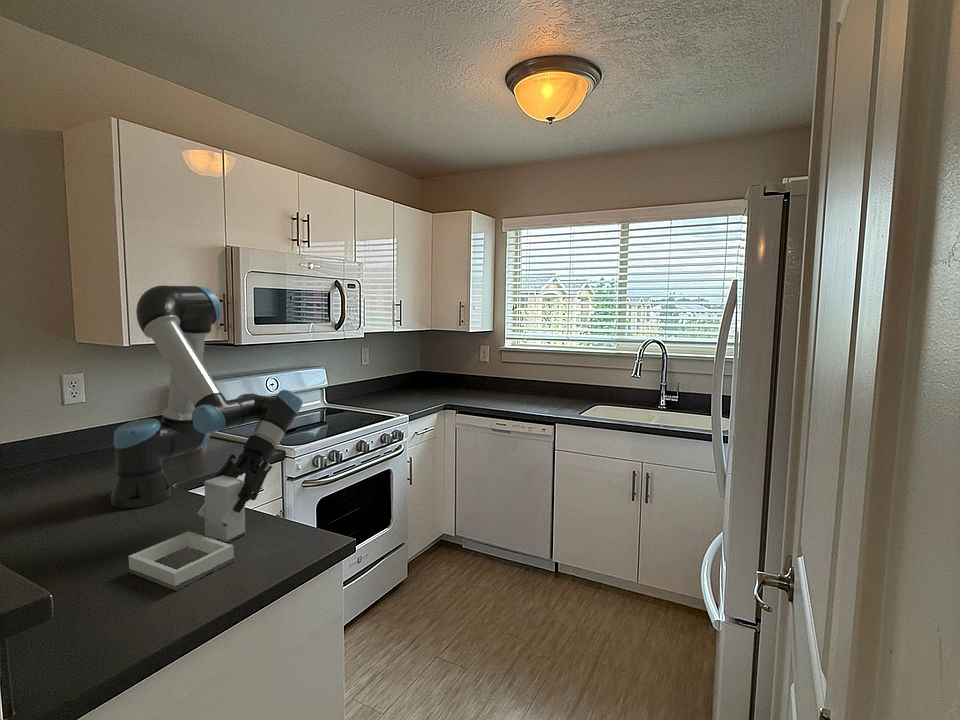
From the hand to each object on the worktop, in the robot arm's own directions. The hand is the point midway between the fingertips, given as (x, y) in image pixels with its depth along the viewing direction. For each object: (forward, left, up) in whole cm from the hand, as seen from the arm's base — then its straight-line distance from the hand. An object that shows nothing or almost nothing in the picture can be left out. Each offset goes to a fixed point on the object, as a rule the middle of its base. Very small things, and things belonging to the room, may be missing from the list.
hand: (213, 519), depth 130 cm
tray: (+5, -12, -6) cm, 14 cm away
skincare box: (0, +3, -6) cm, 7 cm away
